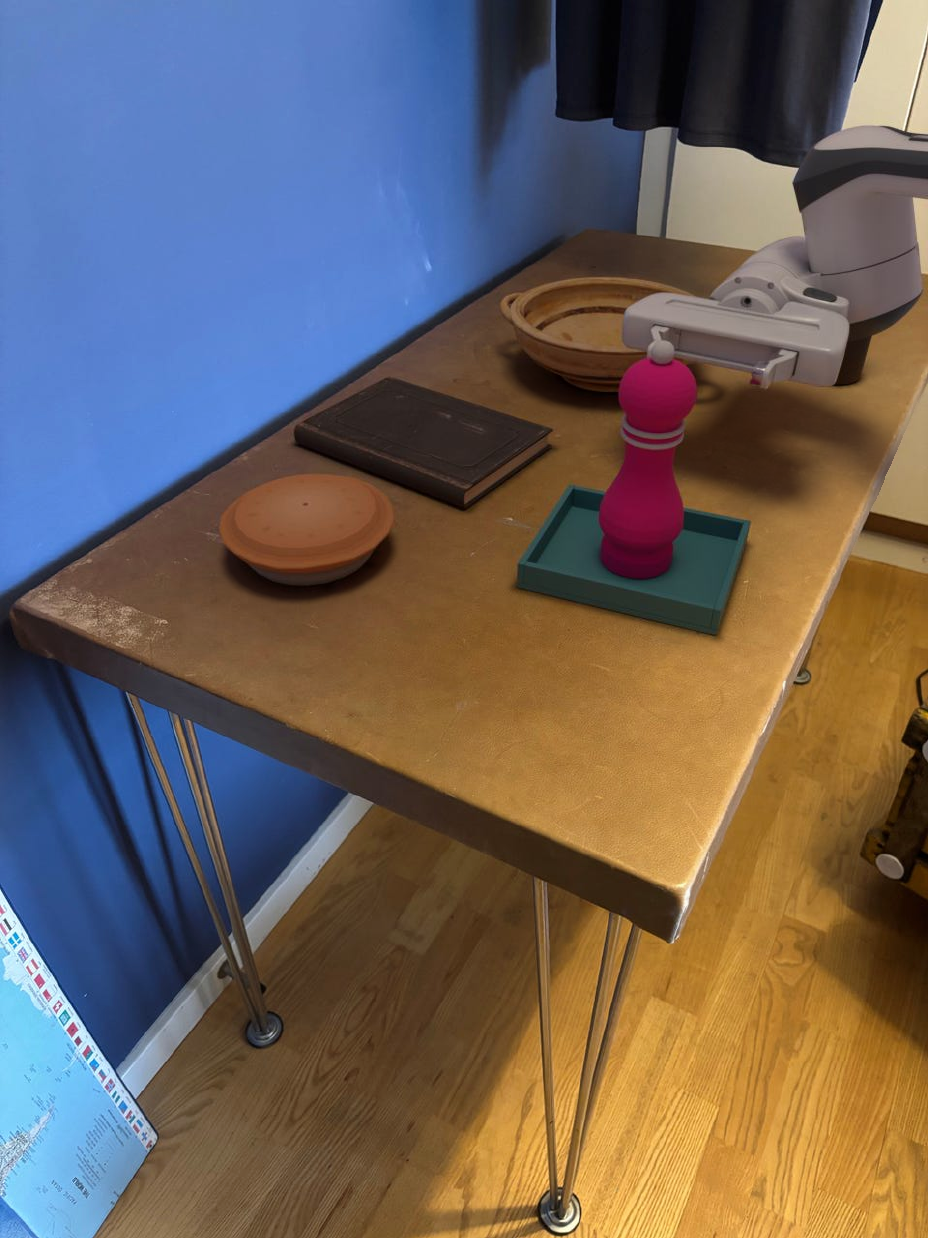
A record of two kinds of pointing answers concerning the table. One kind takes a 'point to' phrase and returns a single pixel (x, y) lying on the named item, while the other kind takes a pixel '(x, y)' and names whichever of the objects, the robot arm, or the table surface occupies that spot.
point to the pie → (307, 527)
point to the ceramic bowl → (581, 327)
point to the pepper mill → (647, 467)
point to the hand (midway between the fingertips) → (705, 367)
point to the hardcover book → (425, 439)
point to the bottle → (853, 361)
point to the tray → (676, 597)
